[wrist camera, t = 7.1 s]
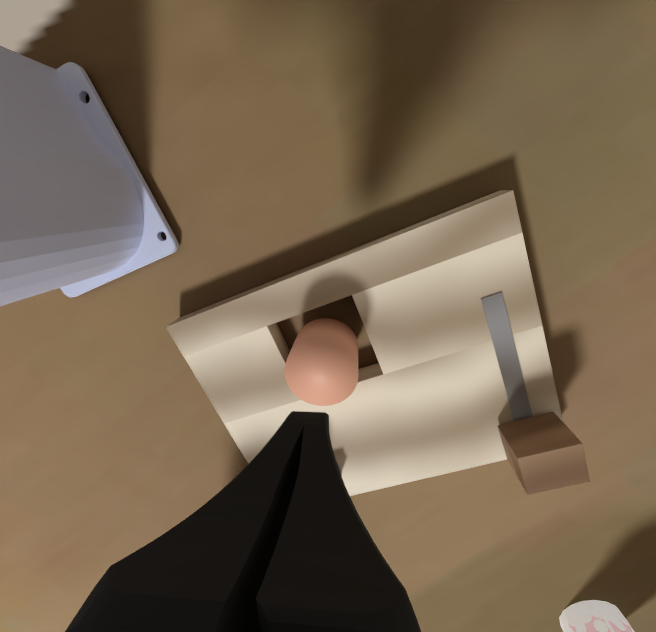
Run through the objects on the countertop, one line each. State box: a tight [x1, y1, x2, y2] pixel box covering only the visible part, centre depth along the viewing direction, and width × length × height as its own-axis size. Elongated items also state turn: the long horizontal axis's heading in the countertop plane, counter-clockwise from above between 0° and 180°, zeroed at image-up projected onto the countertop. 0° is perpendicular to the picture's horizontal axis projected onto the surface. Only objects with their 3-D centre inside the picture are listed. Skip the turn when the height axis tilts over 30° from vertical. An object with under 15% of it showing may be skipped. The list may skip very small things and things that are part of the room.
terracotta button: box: [284, 318, 359, 406], centre depth 17 cm, size 4×4×3 cm
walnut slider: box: [498, 411, 590, 495], centre depth 18 cm, size 2×3×2 cm
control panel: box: [166, 190, 563, 496], centre depth 19 cm, size 15×19×3 cm
